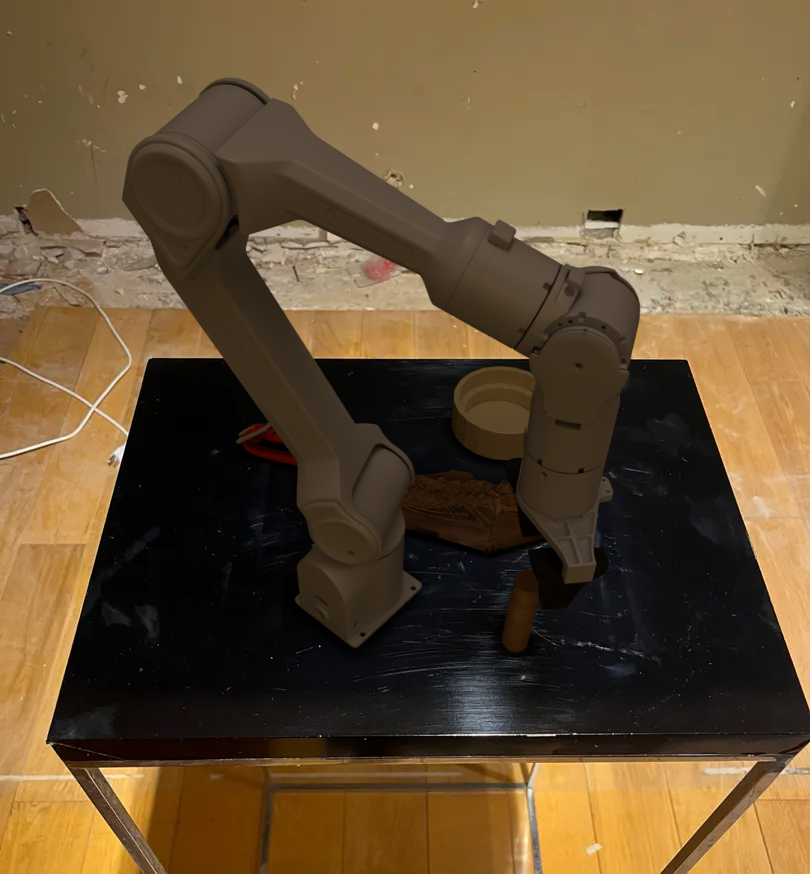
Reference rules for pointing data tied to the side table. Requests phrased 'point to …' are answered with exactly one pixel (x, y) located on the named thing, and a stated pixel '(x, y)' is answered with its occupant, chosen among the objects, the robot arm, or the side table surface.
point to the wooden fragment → (464, 511)
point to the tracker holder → (268, 433)
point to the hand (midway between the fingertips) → (543, 568)
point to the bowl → (493, 411)
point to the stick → (521, 611)
